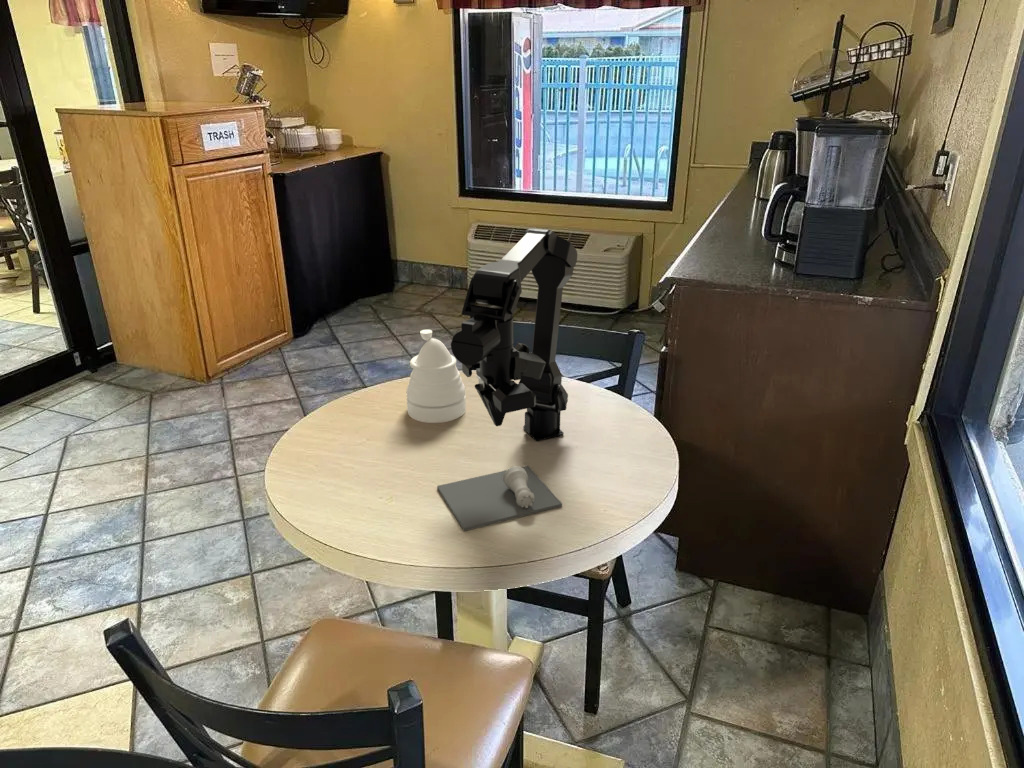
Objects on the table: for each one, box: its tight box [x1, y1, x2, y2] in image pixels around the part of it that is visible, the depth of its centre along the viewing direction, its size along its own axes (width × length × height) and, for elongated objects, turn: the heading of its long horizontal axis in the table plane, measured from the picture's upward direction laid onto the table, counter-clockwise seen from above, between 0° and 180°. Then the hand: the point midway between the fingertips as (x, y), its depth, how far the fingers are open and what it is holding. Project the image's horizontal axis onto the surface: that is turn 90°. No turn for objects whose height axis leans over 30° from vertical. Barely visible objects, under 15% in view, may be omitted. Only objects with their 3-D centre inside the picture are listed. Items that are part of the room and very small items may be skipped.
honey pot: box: [406, 329, 467, 424], centre depth 155 cm, size 13×13×18 cm
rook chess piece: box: [503, 465, 534, 508], centre depth 124 cm, size 4×4×8 cm
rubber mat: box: [437, 465, 563, 532], centre depth 126 cm, size 18×14×1 cm
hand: (498, 425), depth 127 cm, fingers closed
